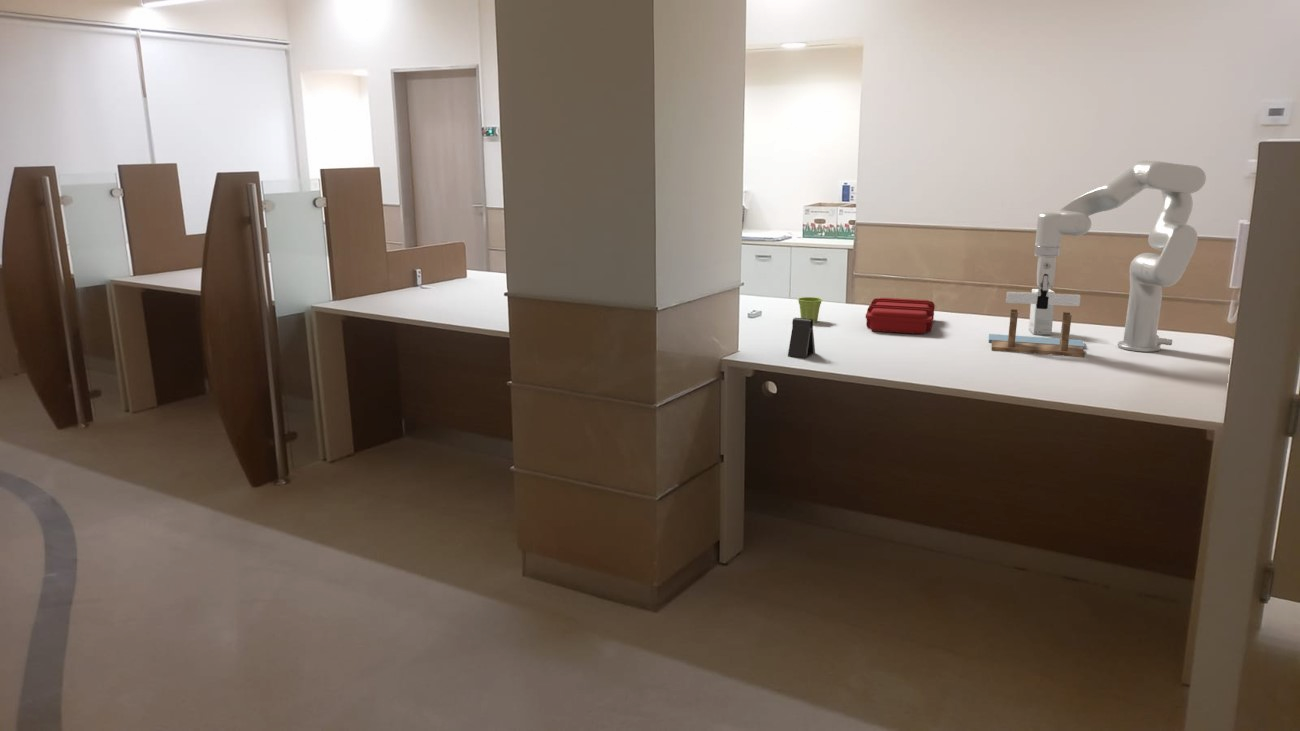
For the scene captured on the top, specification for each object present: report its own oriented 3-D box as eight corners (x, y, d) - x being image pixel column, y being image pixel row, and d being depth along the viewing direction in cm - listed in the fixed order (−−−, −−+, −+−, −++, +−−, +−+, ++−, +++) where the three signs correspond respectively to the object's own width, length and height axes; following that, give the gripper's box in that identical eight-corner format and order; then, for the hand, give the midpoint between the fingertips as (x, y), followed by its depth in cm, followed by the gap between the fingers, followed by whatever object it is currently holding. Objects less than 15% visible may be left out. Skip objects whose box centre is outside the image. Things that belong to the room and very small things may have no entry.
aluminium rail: (1078, 304, 291) (1079, 294, 290) (1079, 306, 288) (1080, 296, 287) (1005, 300, 299) (1006, 291, 298) (1006, 302, 296) (1006, 293, 295)
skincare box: (1051, 335, 319) (1056, 292, 315) (1031, 334, 321) (1036, 291, 317) (1046, 330, 327) (1051, 288, 323) (1027, 330, 328) (1031, 287, 325)
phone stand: (805, 358, 288) (806, 322, 285) (787, 356, 291) (788, 320, 288) (815, 353, 295) (816, 317, 292) (798, 350, 298) (799, 315, 295)
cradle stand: (1081, 350, 297) (1086, 312, 294) (1084, 357, 288) (1089, 318, 285) (991, 343, 307) (995, 307, 303) (991, 350, 298) (995, 312, 294)
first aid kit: (872, 316, 356) (874, 295, 354) (934, 320, 348) (935, 298, 346) (863, 332, 326) (865, 309, 324) (930, 337, 319) (932, 313, 317)
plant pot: (791, 320, 347) (792, 298, 345) (811, 318, 352) (812, 296, 349) (806, 324, 339) (807, 302, 337) (826, 322, 344) (827, 299, 341)
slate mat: (1082, 342, 308) (1082, 340, 307) (1084, 349, 299) (1084, 346, 298) (988, 336, 318) (989, 333, 318) (988, 342, 309) (988, 339, 309)
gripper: (1061, 255, 280) (1055, 312, 285) (1058, 248, 295) (1052, 303, 300) (1035, 254, 283) (1030, 311, 288) (1033, 248, 298) (1028, 302, 302)
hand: (1041, 307), depth 294 cm, fingers closed on aluminium rail, 3 cm apart
